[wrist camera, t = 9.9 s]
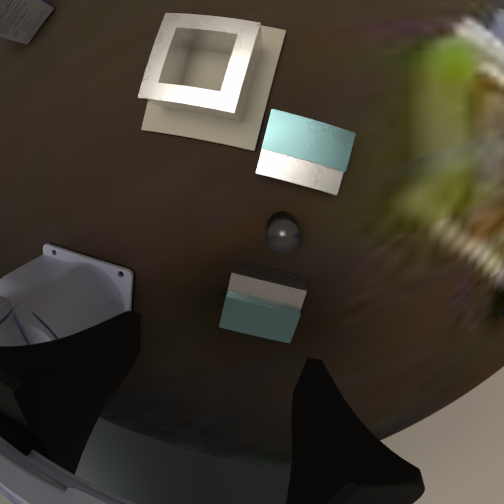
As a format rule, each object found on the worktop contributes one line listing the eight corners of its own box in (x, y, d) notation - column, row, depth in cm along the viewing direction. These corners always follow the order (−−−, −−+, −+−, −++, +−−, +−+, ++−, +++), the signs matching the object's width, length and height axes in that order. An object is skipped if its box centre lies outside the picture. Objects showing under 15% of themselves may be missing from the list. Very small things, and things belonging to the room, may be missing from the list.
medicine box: (56, 9, 15) (-2, -19, 7) (28, 46, 17) (-34, 30, 8) (29, -11, 14) (-20, -32, 6) (5, 22, 15) (-47, 8, 7)
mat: (144, 130, 19) (141, 129, 18) (176, 19, 16) (174, 16, 16) (254, 151, 19) (254, 150, 19) (285, 33, 16) (285, 30, 16)
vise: (224, 306, 23) (218, 327, 20) (271, 116, 18) (271, 108, 16) (288, 321, 23) (290, 343, 20) (343, 136, 19) (355, 133, 16)
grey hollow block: (161, 107, 18) (137, 97, 14) (183, 35, 16) (165, 13, 12) (241, 121, 18) (234, 112, 14) (262, 46, 16) (260, 22, 13)
